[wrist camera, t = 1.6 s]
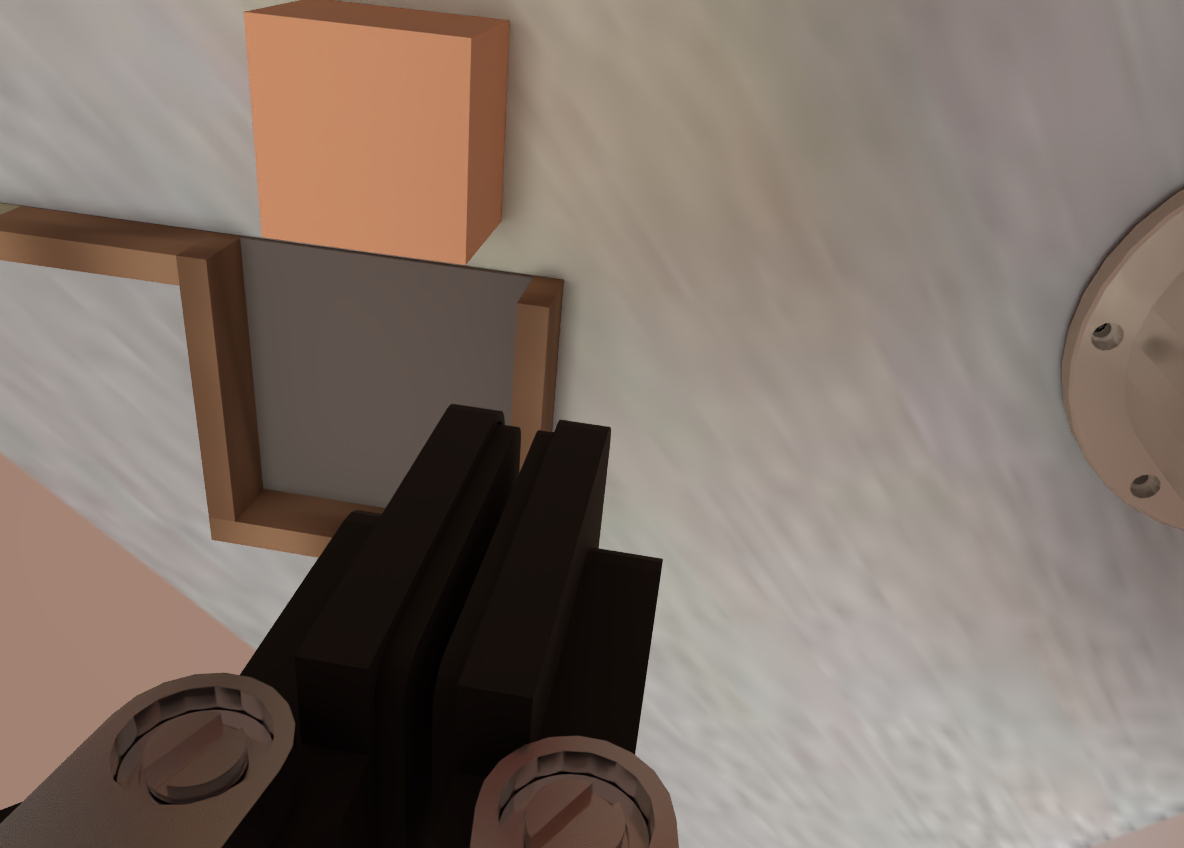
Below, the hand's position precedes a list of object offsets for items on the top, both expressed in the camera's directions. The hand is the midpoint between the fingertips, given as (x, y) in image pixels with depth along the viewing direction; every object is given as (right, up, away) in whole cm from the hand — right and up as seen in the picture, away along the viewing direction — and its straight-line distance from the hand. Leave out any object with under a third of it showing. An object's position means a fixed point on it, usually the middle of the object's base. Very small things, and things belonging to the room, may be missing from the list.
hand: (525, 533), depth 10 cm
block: (-5, +11, +19) cm, 23 cm away
